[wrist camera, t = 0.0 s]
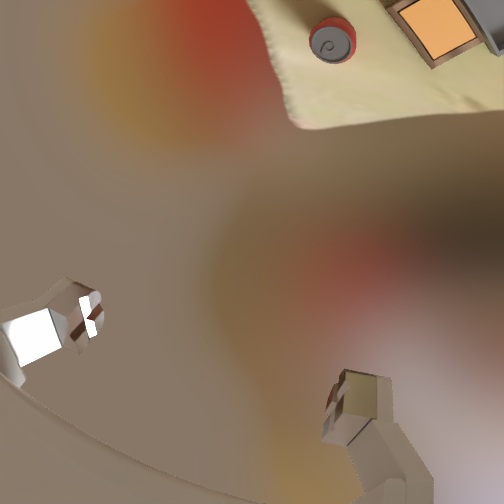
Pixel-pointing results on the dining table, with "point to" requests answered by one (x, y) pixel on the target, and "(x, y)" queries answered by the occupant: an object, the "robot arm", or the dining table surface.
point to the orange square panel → (437, 25)
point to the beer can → (333, 40)
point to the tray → (488, 22)
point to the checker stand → (393, 10)
